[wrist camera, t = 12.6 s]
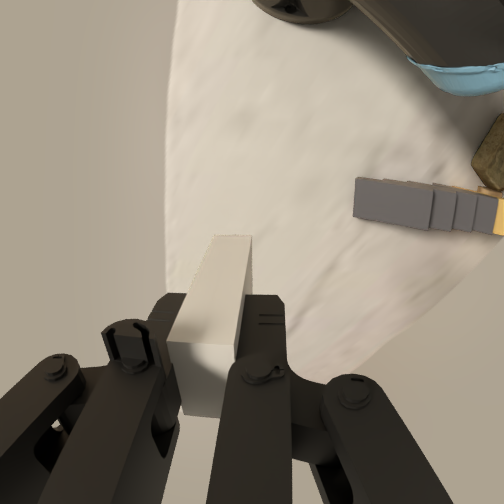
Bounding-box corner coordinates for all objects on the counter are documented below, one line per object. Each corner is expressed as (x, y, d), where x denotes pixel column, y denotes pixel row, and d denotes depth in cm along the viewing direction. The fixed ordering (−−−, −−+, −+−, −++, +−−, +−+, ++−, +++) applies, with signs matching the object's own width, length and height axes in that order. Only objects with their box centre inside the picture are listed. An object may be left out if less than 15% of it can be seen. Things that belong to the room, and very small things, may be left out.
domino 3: (402, 219, 39) (471, 232, 34) (406, 182, 37) (477, 195, 32) (403, 216, 40) (469, 229, 36) (407, 180, 38) (475, 193, 34)
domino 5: (447, 221, 39) (507, 236, 34) (452, 187, 37) (514, 203, 32) (447, 219, 40) (505, 233, 35) (452, 185, 38) (512, 200, 33)
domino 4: (427, 219, 39) (491, 235, 34) (432, 184, 37) (498, 199, 32) (428, 217, 40) (490, 231, 35) (432, 182, 38) (496, 197, 33)
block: (471, 223, 40) (481, 230, 37) (478, 185, 37) (488, 190, 35) (485, 224, 40) (495, 231, 37) (491, 188, 37) (502, 193, 34)
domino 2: (378, 217, 39) (450, 231, 35) (382, 180, 37) (456, 193, 33) (380, 214, 40) (449, 228, 36) (383, 178, 38) (455, 191, 34)
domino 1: (352, 216, 39) (427, 230, 35) (355, 178, 37) (433, 191, 33) (355, 213, 41) (427, 227, 36) (358, 176, 39) (433, 188, 34)
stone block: (465, 165, 37) (484, 171, 32) (498, 109, 32) (518, 110, 28) (486, 189, 38) (504, 197, 33) (517, 135, 33) (537, 139, 29)
